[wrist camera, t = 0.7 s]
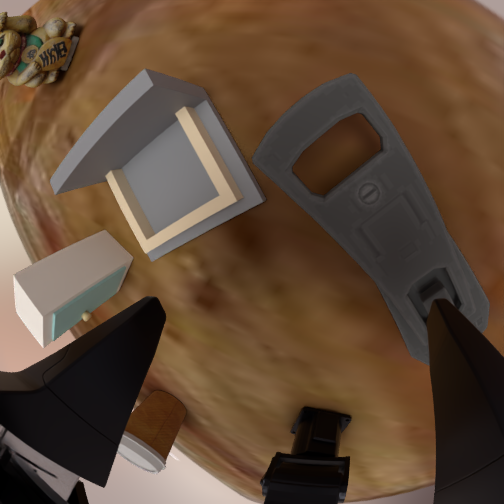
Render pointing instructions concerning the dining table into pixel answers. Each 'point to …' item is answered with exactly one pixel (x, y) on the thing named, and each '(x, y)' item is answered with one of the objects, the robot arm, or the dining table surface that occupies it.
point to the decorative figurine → (34, 49)
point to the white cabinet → (69, 285)
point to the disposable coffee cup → (152, 431)
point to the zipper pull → (377, 211)
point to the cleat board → (163, 162)
